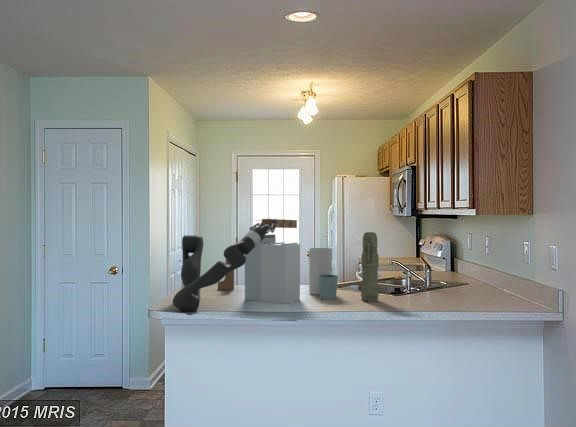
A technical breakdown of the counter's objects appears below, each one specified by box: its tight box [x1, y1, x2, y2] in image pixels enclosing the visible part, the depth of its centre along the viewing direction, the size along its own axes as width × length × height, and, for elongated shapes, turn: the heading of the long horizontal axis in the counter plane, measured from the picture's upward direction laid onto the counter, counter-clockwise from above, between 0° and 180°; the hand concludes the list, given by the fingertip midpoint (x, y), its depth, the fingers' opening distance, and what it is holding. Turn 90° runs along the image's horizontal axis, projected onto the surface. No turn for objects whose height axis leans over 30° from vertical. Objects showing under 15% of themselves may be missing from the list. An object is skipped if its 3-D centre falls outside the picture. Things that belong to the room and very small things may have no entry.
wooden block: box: [217, 258, 235, 291], centre depth 330 cm, size 9×4×18 cm, turn 88°
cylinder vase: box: [308, 247, 333, 296], centre depth 315 cm, size 12×12×25 cm
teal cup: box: [319, 274, 339, 300], centre depth 299 cm, size 10×10×12 cm
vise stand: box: [244, 233, 301, 304], centre depth 294 cm, size 14×25×34 cm, turn 58°
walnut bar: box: [261, 218, 298, 229], centre depth 287 cm, size 26×4×4 cm, turn 147°
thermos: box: [360, 231, 380, 302], centre depth 291 cm, size 9×12×35 cm
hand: (271, 220), depth 281 cm, fingers closed on walnut bar, 4 cm apart
